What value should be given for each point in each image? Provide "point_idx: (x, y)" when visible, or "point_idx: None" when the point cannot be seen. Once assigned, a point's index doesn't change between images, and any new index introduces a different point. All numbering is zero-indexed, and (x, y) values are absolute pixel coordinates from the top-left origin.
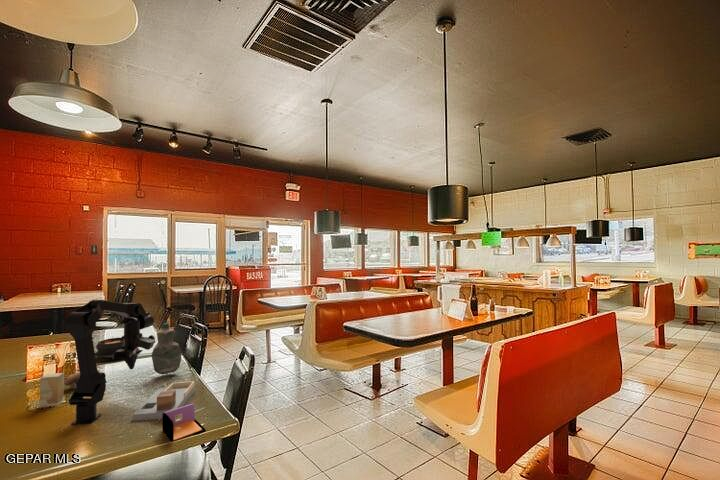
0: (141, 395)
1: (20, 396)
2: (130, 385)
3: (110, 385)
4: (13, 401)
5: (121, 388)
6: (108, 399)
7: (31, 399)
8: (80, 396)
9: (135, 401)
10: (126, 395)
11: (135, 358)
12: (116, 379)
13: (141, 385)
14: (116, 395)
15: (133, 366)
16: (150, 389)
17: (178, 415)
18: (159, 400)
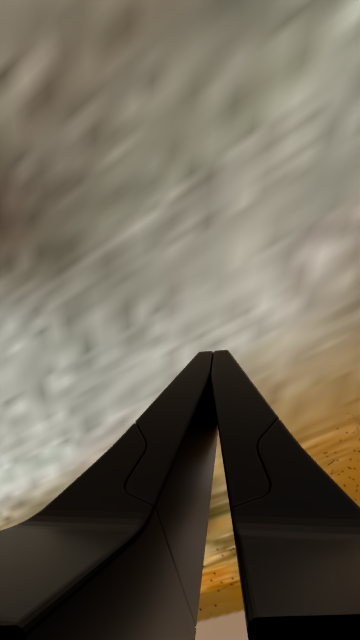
0: (235, 171)
1: (203, 602)
2: (77, 347)
3: (92, 433)
4: (240, 602)
5: (121, 369)
6: (274, 353)
7: (230, 578)
8: None
9: (354, 144)
10: (224, 285)
11: (172, 464)
12: (24, 443)
13: (66, 284)
14: (219, 343)
15: (217, 365)
16: (122, 170)
17: None
18: None
